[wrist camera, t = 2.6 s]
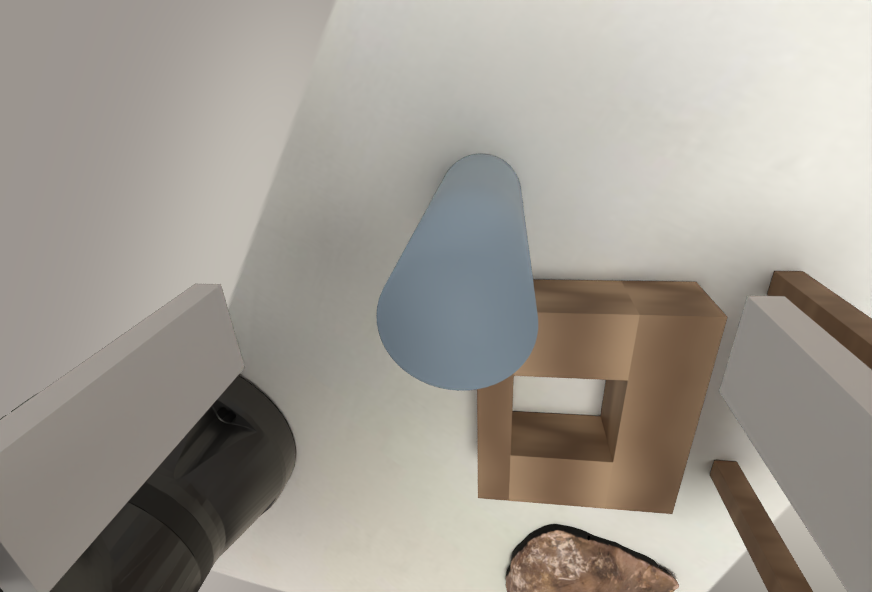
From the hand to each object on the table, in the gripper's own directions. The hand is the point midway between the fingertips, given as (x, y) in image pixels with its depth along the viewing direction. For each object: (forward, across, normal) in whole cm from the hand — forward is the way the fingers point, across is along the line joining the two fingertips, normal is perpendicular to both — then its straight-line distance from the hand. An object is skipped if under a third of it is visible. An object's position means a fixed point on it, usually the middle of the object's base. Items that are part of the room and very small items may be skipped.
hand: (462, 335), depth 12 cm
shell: (+15, +8, -33) cm, 37 cm away
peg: (+14, 0, 0) cm, 15 cm away
